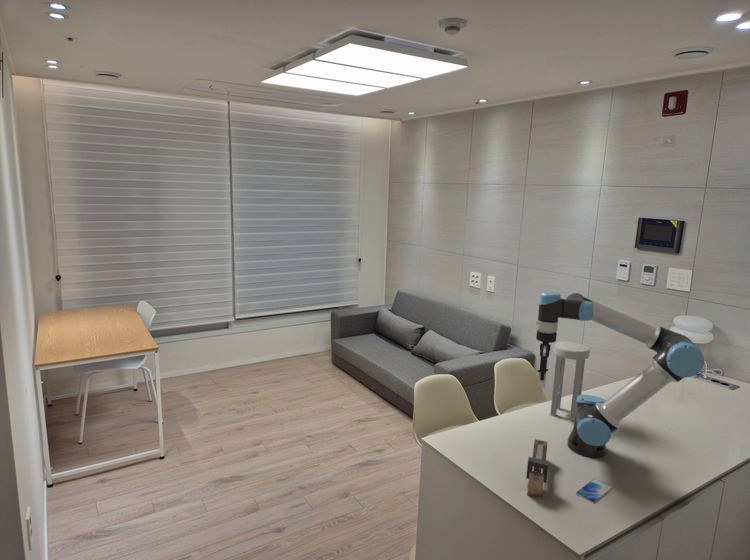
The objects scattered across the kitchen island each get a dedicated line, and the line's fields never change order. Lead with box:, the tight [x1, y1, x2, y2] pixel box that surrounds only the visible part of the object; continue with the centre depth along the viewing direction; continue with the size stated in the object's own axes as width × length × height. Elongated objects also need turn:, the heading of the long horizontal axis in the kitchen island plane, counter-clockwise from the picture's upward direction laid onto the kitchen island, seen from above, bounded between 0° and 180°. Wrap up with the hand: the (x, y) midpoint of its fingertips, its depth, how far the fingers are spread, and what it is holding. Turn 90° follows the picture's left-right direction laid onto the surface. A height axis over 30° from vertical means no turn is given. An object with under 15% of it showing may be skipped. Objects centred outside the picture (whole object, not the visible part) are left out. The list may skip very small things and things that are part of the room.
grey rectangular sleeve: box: [526, 456, 549, 484], centre depth 174 cm, size 7×3×7 cm, turn 68°
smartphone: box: [575, 478, 613, 504], centre depth 175 cm, size 7×1×15 cm
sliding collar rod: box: [526, 439, 549, 499], centre depth 182 cm, size 5×28×8 cm, turn 158°
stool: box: [549, 341, 591, 422], centre depth 233 cm, size 16×16×35 cm
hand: (541, 386), depth 194 cm, fingers closed
